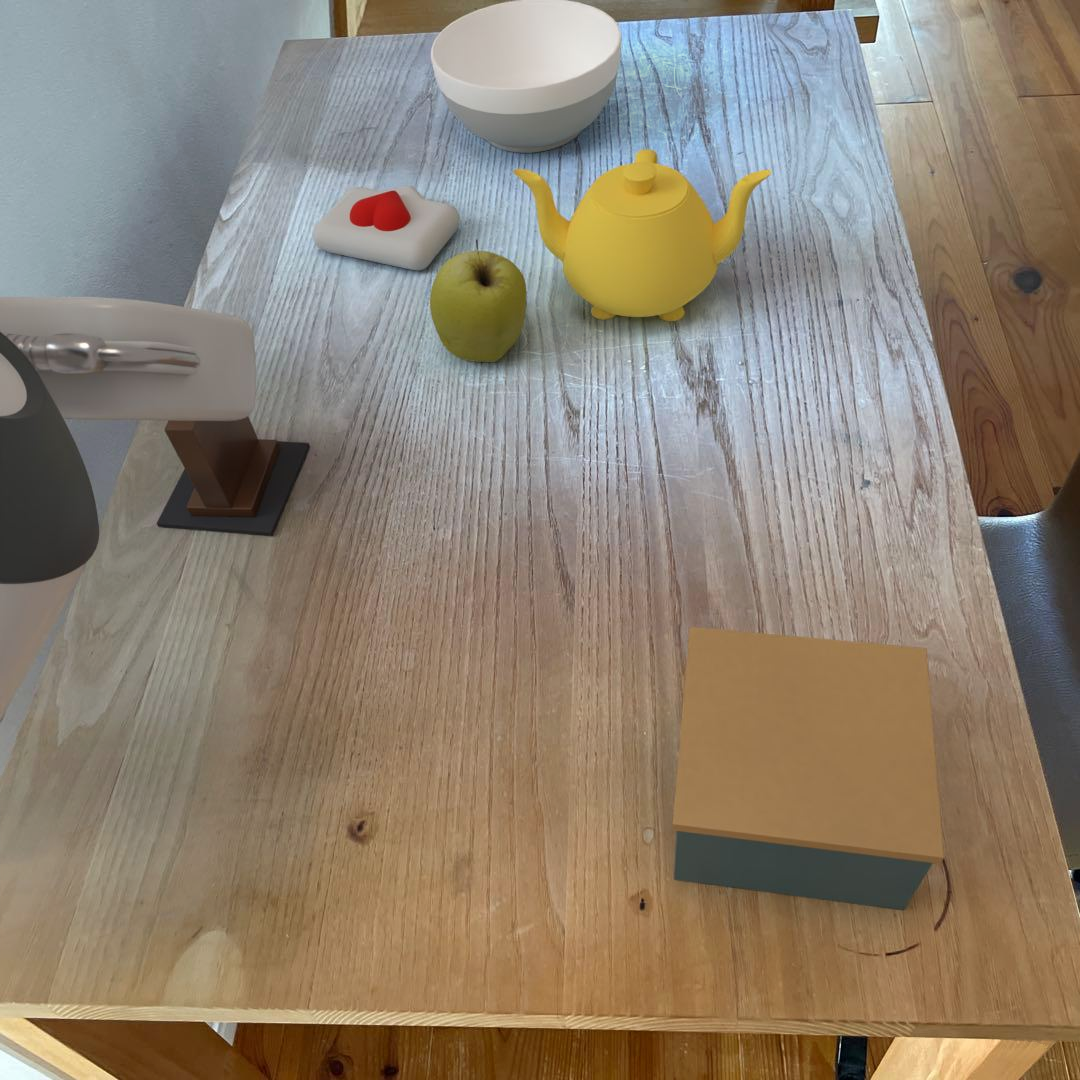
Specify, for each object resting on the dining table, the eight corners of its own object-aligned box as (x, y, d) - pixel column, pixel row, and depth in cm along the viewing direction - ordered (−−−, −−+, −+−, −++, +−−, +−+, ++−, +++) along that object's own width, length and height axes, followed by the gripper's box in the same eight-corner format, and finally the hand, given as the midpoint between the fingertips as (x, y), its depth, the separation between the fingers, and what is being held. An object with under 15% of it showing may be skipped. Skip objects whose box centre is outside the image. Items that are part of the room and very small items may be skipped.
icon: (468, 176, 91) (416, 238, 86) (474, 217, 95) (425, 279, 89) (355, 156, 95) (299, 214, 90) (365, 196, 98) (311, 254, 93)
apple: (410, 326, 83) (425, 218, 76) (498, 323, 87) (520, 218, 80) (437, 385, 79) (455, 275, 72) (530, 379, 82) (556, 273, 75)
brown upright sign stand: (255, 517, 72) (213, 430, 65) (190, 516, 73) (142, 429, 66) (280, 448, 77) (244, 359, 70) (219, 447, 77) (176, 358, 70)
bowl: (625, 169, 98) (624, 82, 91) (436, 180, 99) (420, 95, 92) (621, 75, 109) (619, -9, 103) (451, 86, 111) (439, 5, 104)
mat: (272, 536, 72) (270, 532, 71) (158, 526, 73) (156, 523, 73) (310, 446, 77) (309, 442, 77) (203, 439, 79) (201, 435, 78)
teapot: (759, 235, 89) (772, 112, 80) (757, 344, 80) (771, 219, 71) (540, 232, 92) (528, 113, 83) (514, 336, 83) (498, 216, 74)
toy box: (908, 915, 52) (944, 858, 45) (669, 883, 54) (672, 824, 48) (896, 720, 59) (926, 647, 52) (685, 698, 61) (689, 626, 54)
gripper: (136, 232, 26) (318, 298, 40) (-520, 240, 29) (-140, 299, 43) (144, 469, 27) (320, 454, 41) (-496, 456, 30) (-131, 446, 43)
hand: (81, 375), depth 42 cm, fingers open, 8 cm apart
